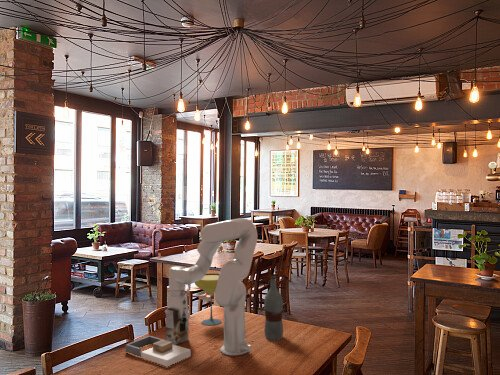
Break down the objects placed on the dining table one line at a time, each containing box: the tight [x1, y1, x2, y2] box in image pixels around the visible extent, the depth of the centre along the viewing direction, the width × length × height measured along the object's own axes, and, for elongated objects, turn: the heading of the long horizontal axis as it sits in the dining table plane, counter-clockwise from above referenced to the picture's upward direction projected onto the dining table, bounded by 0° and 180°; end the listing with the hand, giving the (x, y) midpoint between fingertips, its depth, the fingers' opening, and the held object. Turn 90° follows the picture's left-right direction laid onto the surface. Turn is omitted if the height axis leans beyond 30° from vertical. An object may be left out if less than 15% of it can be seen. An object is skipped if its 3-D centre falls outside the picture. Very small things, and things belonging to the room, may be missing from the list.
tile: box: [153, 339, 173, 353], centre depth 185 cm, size 6×6×3 cm
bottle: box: [263, 275, 284, 341], centre depth 208 cm, size 9×9×30 cm
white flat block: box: [141, 344, 192, 367], centre depth 184 cm, size 16×14×3 cm
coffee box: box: [165, 308, 189, 345], centre depth 204 cm, size 9×6×16 cm
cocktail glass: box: [194, 273, 222, 327], centre depth 232 cm, size 18×18×25 cm
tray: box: [125, 335, 164, 357], centre depth 192 cm, size 10×14×4 cm
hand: (177, 329), depth 204 cm, fingers closed on coffee box, 6 cm apart
